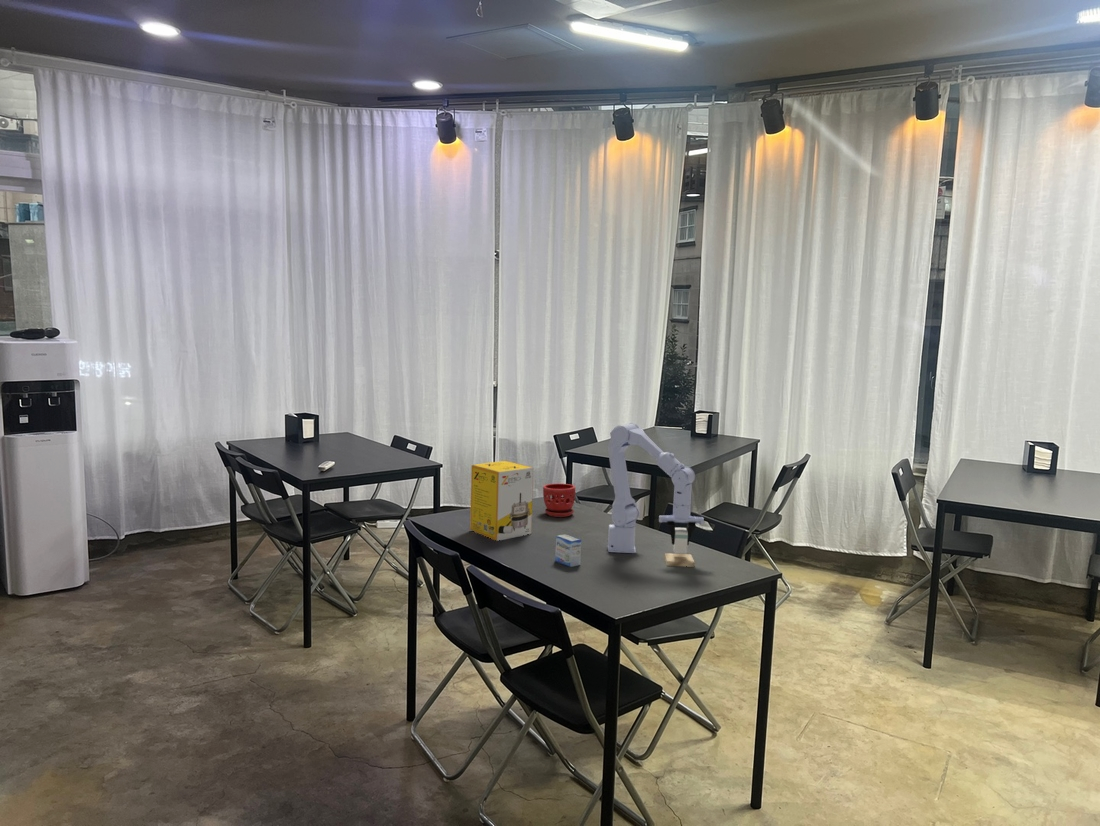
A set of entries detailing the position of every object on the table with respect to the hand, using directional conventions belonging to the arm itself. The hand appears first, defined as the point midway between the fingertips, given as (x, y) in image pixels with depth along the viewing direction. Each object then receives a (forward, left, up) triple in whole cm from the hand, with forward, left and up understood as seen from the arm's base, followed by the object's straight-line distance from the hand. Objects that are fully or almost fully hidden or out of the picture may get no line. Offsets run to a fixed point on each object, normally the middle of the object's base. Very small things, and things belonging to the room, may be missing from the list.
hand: (680, 544), depth 265 cm
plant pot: (-43, +57, -6) cm, 72 cm away
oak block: (0, 0, -7) cm, 7 cm away
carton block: (0, 0, -2) cm, 2 cm away
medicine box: (-37, -7, -6) cm, 38 cm away
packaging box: (-63, +26, -6) cm, 68 cm away
